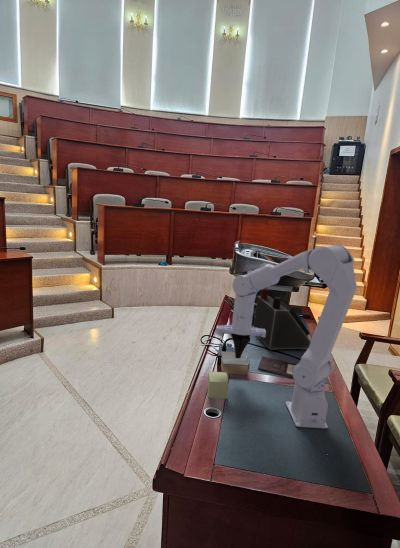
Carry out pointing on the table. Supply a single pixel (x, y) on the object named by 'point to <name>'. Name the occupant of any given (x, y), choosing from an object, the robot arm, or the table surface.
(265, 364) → the chocolate bar
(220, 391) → the olive cube
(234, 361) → the beech slab
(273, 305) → the voltmeter
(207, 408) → the table surface
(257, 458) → the table surface
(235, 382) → the table surface
